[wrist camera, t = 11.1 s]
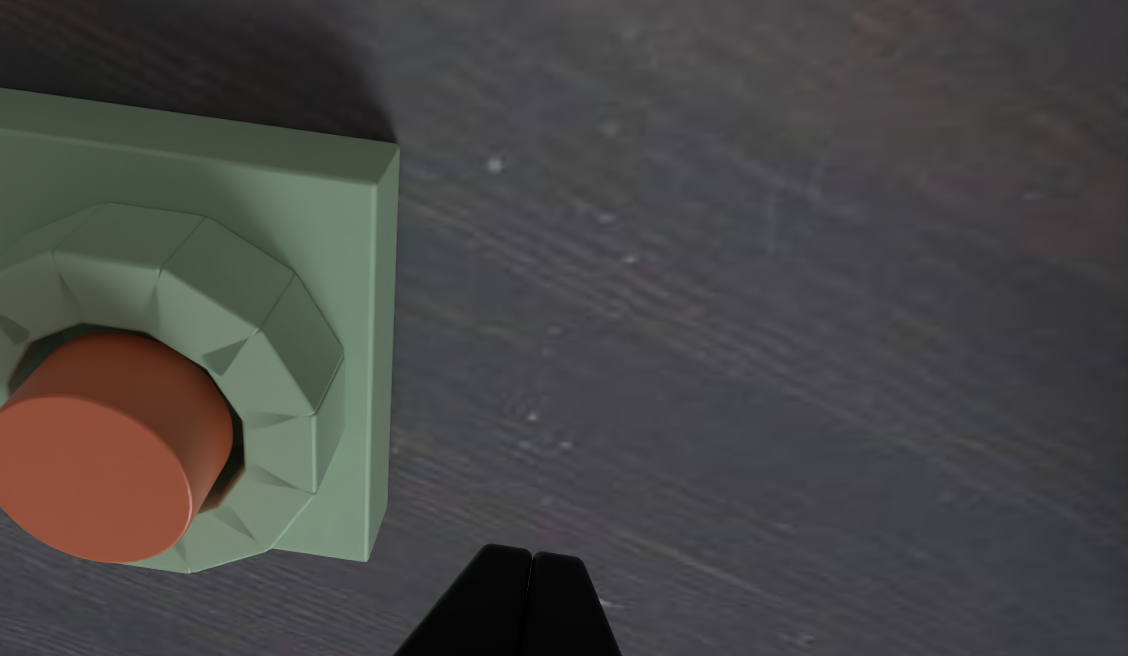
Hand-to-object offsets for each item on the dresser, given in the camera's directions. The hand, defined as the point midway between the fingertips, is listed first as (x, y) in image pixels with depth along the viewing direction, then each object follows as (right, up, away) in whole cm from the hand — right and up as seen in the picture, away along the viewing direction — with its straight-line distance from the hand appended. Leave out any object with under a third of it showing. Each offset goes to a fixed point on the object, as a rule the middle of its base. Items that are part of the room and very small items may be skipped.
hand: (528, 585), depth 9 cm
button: (-7, +1, +8) cm, 10 cm away
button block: (-6, +2, +11) cm, 13 cm away
